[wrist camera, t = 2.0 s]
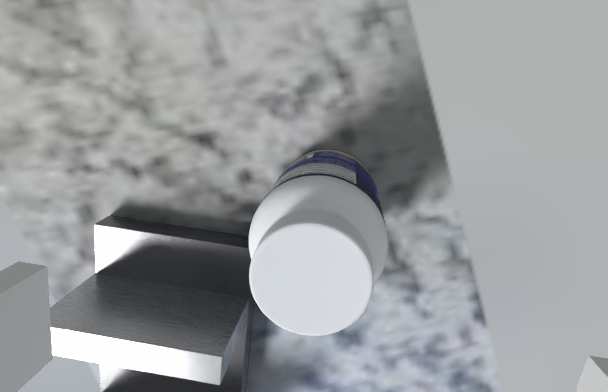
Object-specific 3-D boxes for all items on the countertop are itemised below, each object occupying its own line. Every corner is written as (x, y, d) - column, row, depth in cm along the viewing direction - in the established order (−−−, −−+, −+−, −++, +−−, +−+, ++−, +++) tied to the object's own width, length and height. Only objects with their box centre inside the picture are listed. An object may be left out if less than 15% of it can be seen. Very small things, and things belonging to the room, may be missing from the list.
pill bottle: (373, 246, 22) (388, 365, 13) (277, 239, 23) (227, 348, 14) (381, 150, 21) (406, 207, 12) (279, 144, 21) (224, 195, 12)
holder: (109, 215, 24) (23, 264, 18) (259, 238, 23) (225, 297, 17) (114, 429, 28) (48, 528, 22) (240, 453, 28) (208, 562, 21)
